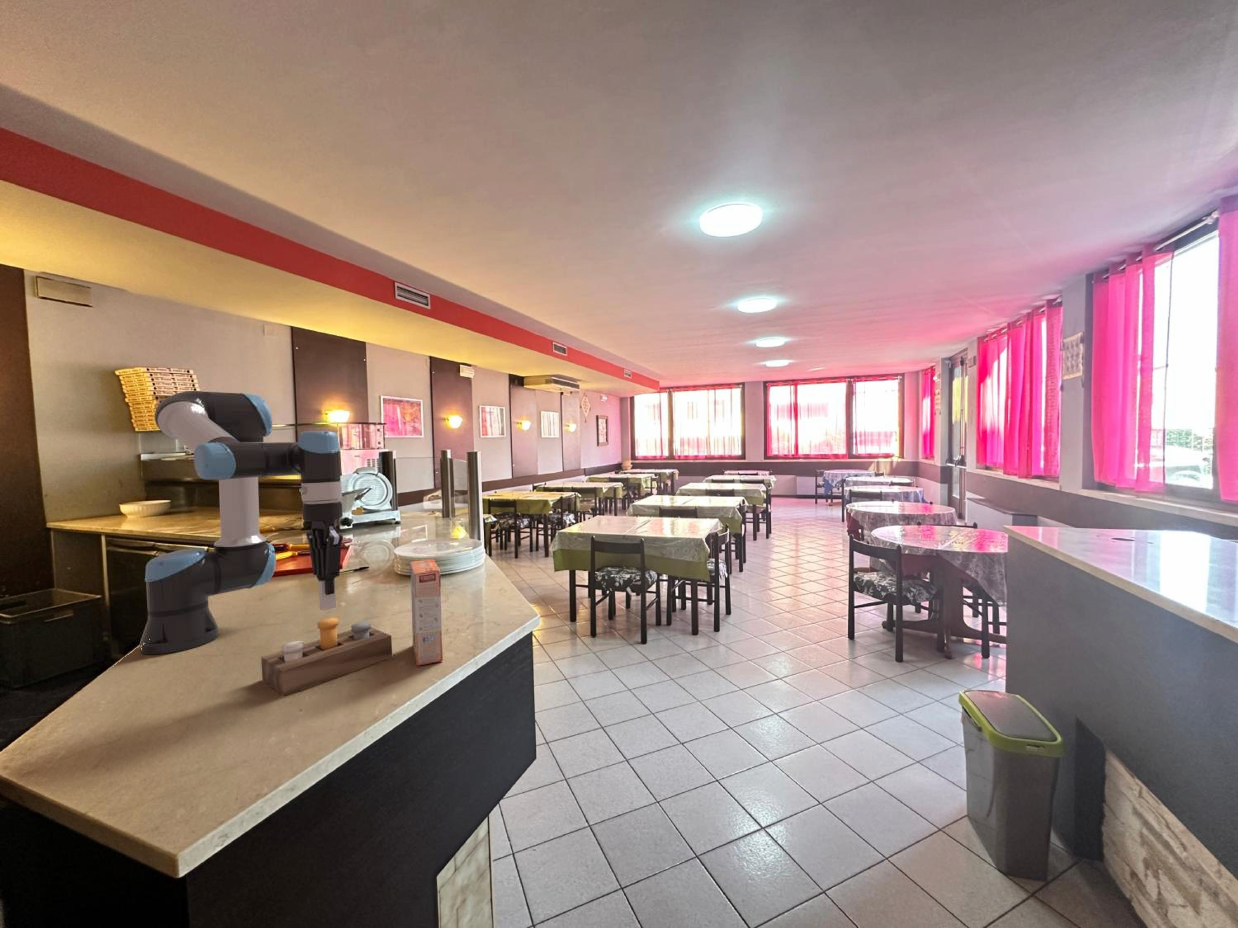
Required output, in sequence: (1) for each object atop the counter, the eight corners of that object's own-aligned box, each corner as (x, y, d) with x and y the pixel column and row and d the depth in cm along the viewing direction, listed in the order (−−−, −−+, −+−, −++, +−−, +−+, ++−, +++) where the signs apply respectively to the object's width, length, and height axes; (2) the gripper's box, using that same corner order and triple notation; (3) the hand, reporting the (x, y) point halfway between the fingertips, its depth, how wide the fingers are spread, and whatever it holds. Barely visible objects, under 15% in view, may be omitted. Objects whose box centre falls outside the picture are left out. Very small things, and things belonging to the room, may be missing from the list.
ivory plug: (280, 678, 104) (278, 645, 104) (301, 671, 108) (299, 639, 107) (287, 683, 102) (285, 649, 102) (308, 676, 105) (307, 643, 105)
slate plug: (349, 655, 116) (348, 625, 115) (366, 649, 119) (365, 620, 118) (357, 659, 113) (356, 628, 113) (375, 653, 116) (373, 623, 116)
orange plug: (315, 653, 110) (314, 621, 110) (335, 647, 113) (333, 616, 113) (323, 657, 107) (322, 625, 107) (343, 651, 111) (341, 620, 110)
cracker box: (444, 661, 112) (441, 569, 111) (415, 667, 109) (412, 573, 109) (438, 640, 125) (435, 557, 124) (412, 645, 122) (408, 560, 121)
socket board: (262, 679, 105) (261, 656, 105) (367, 645, 123) (366, 625, 123) (283, 695, 98) (282, 670, 98) (392, 656, 115) (391, 635, 115)
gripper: (291, 502, 110) (297, 608, 111) (315, 504, 102) (322, 618, 103) (327, 499, 116) (333, 599, 117) (353, 500, 108) (359, 608, 109)
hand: (328, 608), depth 110 cm, fingers closed
